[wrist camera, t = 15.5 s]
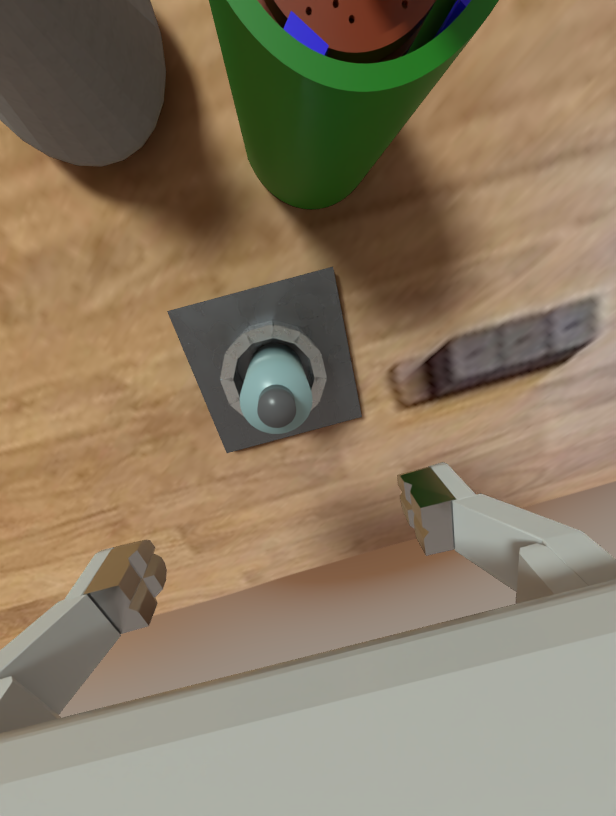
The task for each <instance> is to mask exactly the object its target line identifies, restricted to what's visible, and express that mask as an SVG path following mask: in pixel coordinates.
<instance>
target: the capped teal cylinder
mask: <svg viewBox="0 0 616 816" xmlns="http://www.w3.org/2000/svg"><path fill="white" fill-rule="evenodd" d="M312 401H313V400H312V392H311V389H310V386H309V383H308V381H307V378H306V375H305V372H304V370H303V367H302V364H301V361H300V359H299V357H298V355H297V354H296V353H295V351H293V350H292V349H291V348H290V347H288V346H286V345H283V344H278V343H272V344H267V345H264V346H262V347H261V348H259V349H258V350H257V351H256V352H255V353H254V354H253V356H252V357H251V360H250V363H249V366H248V370H247V373H246V376H245V380H244V383H243V386H242V390H241V393H240V407H241V411H242V413H243V415H244V417H245V418H246V420H247V421H248V422H249V423H250V424H251V425H252V426H253V427H255V428H256V429H258V430H260V431H263V432H266V433H270V434H282V433H287V432H290V431H292V430H294V429H296V428H297V427H299V426H300V425H301V424H302V423H303V422H304V421H305V420H306V419H307V417H308V415H309V414H310V411H311V408H312Z"/></svg>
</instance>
